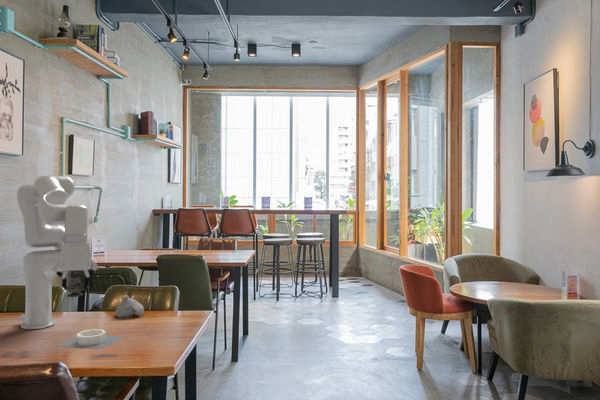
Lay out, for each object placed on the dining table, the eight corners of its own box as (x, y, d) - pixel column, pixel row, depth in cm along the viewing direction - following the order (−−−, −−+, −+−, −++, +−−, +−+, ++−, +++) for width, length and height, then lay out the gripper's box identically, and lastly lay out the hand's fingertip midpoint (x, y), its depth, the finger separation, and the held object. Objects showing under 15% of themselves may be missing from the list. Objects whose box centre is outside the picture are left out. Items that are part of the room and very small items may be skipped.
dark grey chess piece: (70, 293, 163) (71, 261, 163) (87, 293, 164) (87, 261, 164) (63, 297, 158) (63, 263, 157) (80, 297, 158) (80, 263, 158)
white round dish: (71, 344, 160) (71, 336, 160) (88, 336, 169) (88, 328, 169) (94, 346, 159) (94, 337, 159) (110, 338, 168) (110, 330, 168)
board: (56, 348, 159) (56, 345, 159) (82, 336, 172) (82, 333, 172) (101, 352, 156) (101, 349, 156) (124, 340, 169) (124, 336, 169)
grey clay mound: (119, 325, 197) (112, 303, 196) (117, 319, 208) (110, 298, 207) (146, 315, 202) (139, 293, 201) (143, 309, 213) (136, 288, 212)
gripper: (48, 240, 153) (48, 292, 154) (102, 239, 162) (102, 288, 162) (49, 239, 160) (48, 288, 160) (101, 237, 168) (100, 284, 168)
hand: (75, 288), depth 161 cm, fingers closed on dark grey chess piece, 5 cm apart
